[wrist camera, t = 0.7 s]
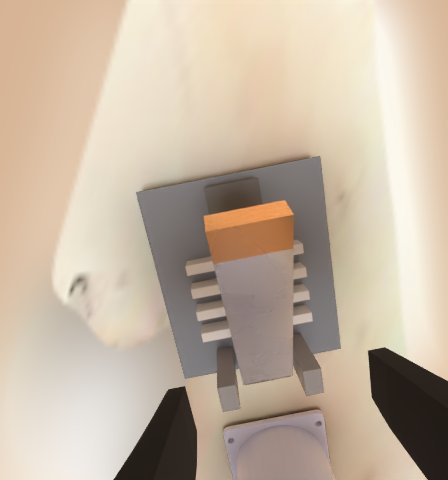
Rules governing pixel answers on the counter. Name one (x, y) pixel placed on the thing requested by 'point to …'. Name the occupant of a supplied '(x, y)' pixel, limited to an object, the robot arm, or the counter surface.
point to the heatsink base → (204, 277)
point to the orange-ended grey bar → (256, 285)
